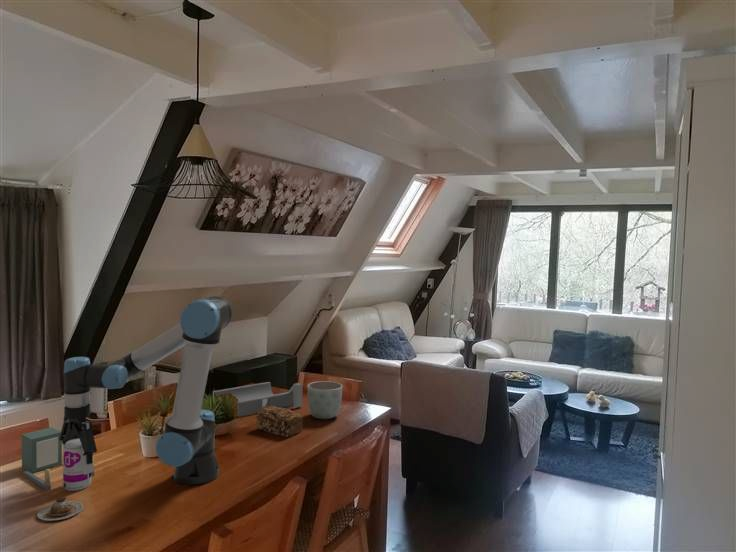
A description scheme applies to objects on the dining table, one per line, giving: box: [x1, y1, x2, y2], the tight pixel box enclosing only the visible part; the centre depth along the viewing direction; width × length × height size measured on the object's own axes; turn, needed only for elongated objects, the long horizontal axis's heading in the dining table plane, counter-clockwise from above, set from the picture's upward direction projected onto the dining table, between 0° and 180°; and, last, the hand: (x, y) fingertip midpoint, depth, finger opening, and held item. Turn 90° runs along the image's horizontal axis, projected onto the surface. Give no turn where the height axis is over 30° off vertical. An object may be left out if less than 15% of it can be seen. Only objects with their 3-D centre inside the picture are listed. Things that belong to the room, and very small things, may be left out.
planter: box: [306, 380, 343, 420], centre depth 260 cm, size 17×17×15 cm
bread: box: [255, 406, 303, 438], centre depth 239 cm, size 19×11×10 cm, turn 57°
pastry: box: [36, 496, 84, 522], centre depth 162 cm, size 12×12×5 cm
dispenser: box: [21, 426, 95, 492], centre depth 189 cm, size 26×16×12 cm, turn 54°
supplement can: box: [62, 437, 92, 492], centre depth 179 cm, size 8×8×15 cm
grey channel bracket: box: [212, 381, 304, 418], centre depth 274 cm, size 33×32×13 cm
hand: (77, 467), depth 179 cm, fingers open, 13 cm apart
